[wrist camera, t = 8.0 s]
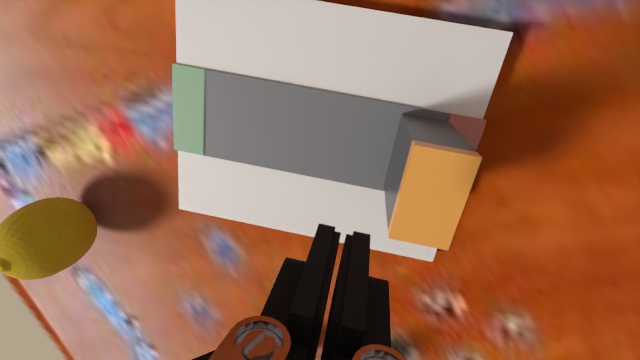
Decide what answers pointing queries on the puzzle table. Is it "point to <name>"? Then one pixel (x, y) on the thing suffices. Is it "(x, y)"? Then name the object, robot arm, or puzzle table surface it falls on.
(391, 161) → the toggle
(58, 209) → the lemon
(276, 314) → the robot arm
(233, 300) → the puzzle table surface
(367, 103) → the panel
